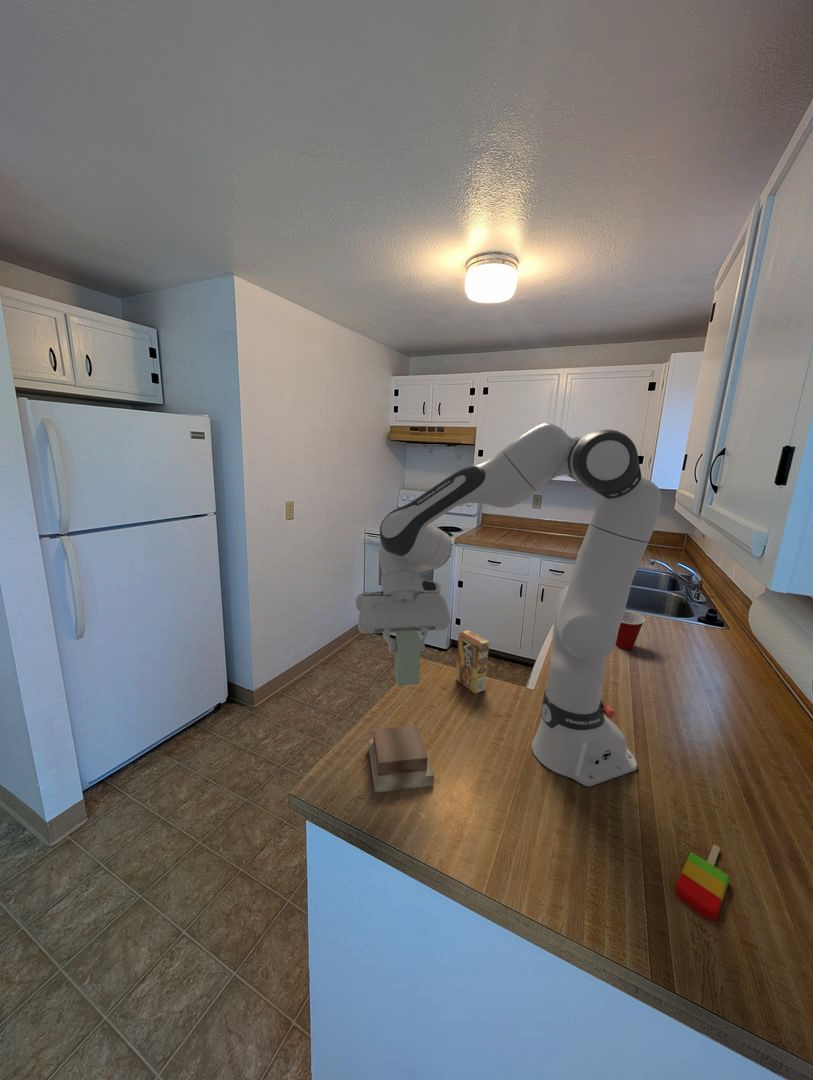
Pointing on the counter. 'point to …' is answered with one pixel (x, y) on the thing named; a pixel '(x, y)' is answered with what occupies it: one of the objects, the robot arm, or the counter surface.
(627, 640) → the plastic cup
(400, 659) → the green block
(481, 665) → the candy box
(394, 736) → the tower top
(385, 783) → the tower base
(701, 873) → the popsicle
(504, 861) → the counter surface
